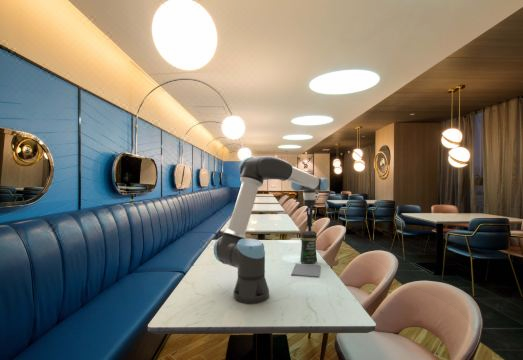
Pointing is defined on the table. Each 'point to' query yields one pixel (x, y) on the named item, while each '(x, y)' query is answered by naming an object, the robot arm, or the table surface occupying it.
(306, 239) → the coffee jar
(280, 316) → the table surface
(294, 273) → the mat
